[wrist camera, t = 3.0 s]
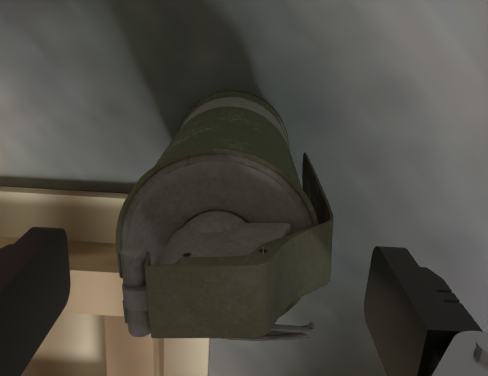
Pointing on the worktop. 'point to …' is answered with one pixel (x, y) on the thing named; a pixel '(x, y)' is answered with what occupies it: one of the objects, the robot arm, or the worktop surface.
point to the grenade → (223, 229)
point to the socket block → (92, 292)
